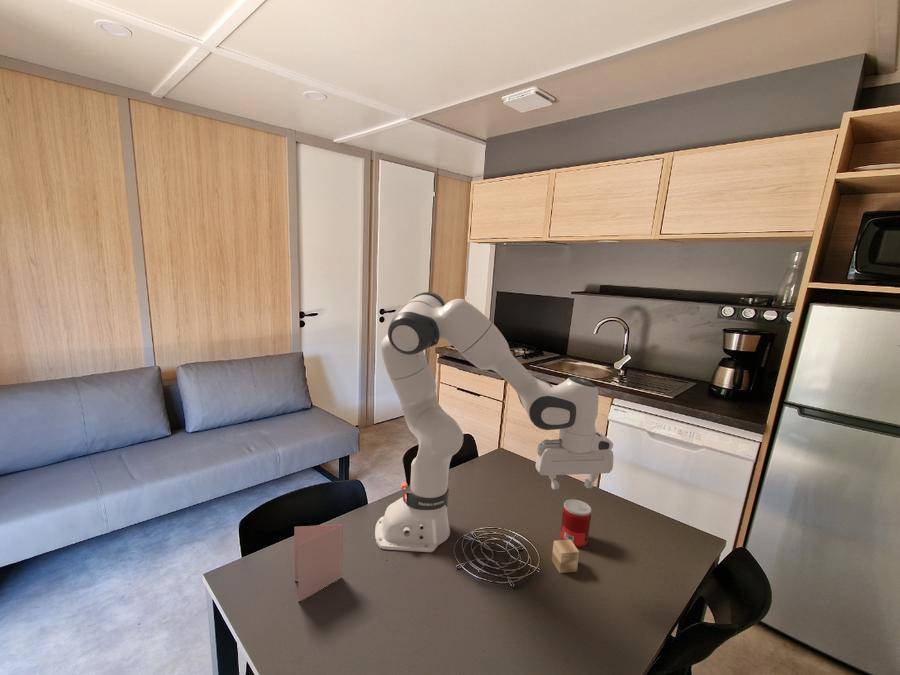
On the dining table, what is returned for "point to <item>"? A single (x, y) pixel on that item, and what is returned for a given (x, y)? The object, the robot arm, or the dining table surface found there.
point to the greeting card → (317, 557)
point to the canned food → (576, 522)
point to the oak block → (565, 556)
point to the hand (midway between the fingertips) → (571, 487)
